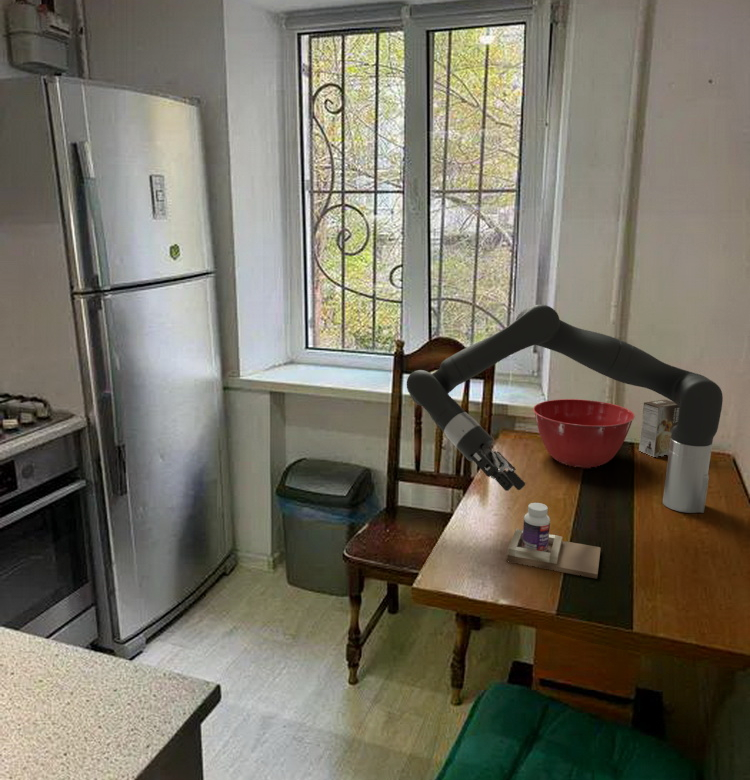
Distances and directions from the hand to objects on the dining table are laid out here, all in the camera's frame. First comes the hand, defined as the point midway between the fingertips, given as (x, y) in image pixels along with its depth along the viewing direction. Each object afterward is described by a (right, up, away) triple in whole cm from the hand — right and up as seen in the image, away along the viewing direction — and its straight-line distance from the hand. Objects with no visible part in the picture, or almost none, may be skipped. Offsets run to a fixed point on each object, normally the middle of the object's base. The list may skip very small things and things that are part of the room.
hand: (516, 487), depth 146 cm
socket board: (+7, -14, -6) cm, 16 cm away
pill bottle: (+3, -12, -5) cm, 14 cm away
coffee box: (+56, +2, +58) cm, 80 cm away
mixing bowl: (+29, 0, +51) cm, 59 cm away
